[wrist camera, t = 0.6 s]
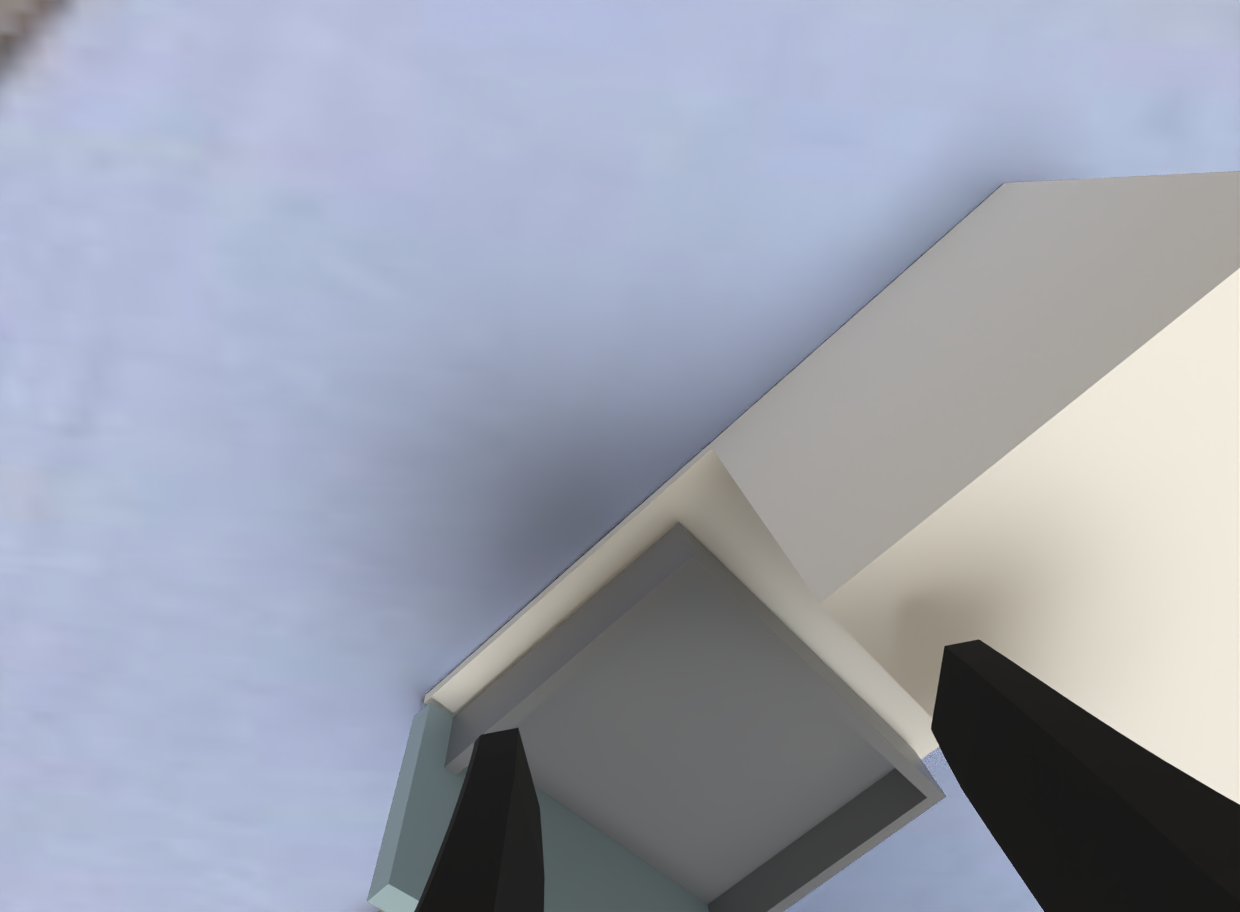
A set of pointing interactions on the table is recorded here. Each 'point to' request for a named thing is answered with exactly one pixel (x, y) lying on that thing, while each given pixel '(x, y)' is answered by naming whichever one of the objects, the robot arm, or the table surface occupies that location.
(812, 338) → the table surface
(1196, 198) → the console box
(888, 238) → the table surface
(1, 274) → the table surface
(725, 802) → the teal drawer
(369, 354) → the table surface
